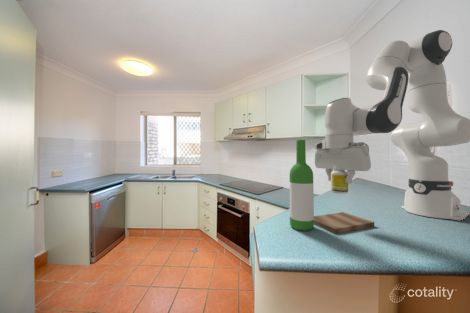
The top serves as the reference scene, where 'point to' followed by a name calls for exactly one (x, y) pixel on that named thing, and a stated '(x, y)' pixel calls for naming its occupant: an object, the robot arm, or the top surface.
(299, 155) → the wine bottle
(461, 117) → the robot arm
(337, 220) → the walnut board
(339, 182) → the supplement bottle
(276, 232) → the top surface
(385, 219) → the top surface
